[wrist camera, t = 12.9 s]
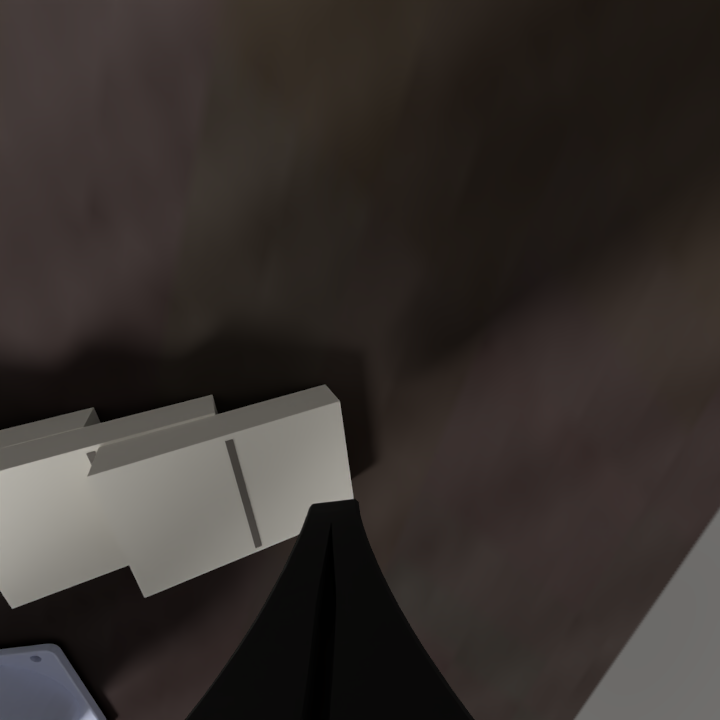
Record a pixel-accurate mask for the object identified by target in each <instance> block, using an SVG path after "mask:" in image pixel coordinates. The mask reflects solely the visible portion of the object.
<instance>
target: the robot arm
mask: <svg viewBox="0 0 720 720" xmlns="http://www.w3.org/2000/svg"><path fill="white" fill-rule="evenodd" d="M0 720H107V719H106V717H105V716H104V714H103V713H102V711H101V710H100V708H99V707H98V705H97V704H96V702H95V701H94V699H93V697H92V696H91V694H90V693H89V691H88V690H87V688H86V687H85V685H84V684H83V682H82V680H81V679H80V677H79V676H78V674H77V673H76V671H75V670H74V668H73V667H72V665H71V664H70V662H69V660H68V659H67V657H66V656H65V654H64V653H63V651H62V650H61V648H60V647H59V646H57V645H55V644H40V645H31V646H23V647H14V648H6V649H0ZM185 720H474V719H473V717H472V716H471V715H470V713H469V712H468V710H467V709H466V708H465V706H464V705H463V704H462V702H461V701H460V700H459V698H458V697H457V696H456V694H455V693H454V691H453V690H452V689H451V687H450V686H449V684H448V683H447V681H446V680H445V678H444V677H443V675H442V674H441V672H440V671H439V670H438V668H437V667H436V665H435V664H434V662H433V661H432V659H431V658H430V656H429V655H428V653H427V652H426V650H425V649H424V647H423V646H422V644H421V642H420V641H419V639H418V638H417V636H416V634H415V633H414V631H413V629H412V628H411V626H410V624H409V623H408V621H407V619H406V617H405V616H404V614H403V612H402V611H401V609H400V607H399V605H398V603H397V601H396V600H395V598H394V596H393V594H392V592H391V590H390V588H389V586H388V584H387V582H386V580H385V578H384V576H383V574H382V572H381V570H380V567H379V565H378V563H377V561H376V558H375V556H374V553H373V551H372V549H371V546H370V544H369V541H368V538H367V536H366V533H365V530H364V527H363V523H362V520H361V516H360V509H359V502H358V501H357V500H355V499H349V500H341V501H332V502H323V503H315V504H312V505H311V506H310V507H309V510H308V513H307V516H306V518H305V521H304V524H303V526H302V529H301V531H300V534H299V536H298V538H297V541H296V543H295V545H294V547H293V549H292V552H291V554H290V556H289V558H288V560H287V562H286V564H285V566H284V568H283V570H282V572H281V574H280V576H279V578H278V580H277V582H276V584H275V585H274V587H273V589H272V591H271V593H270V595H269V597H268V598H267V600H266V602H265V604H264V606H263V607H262V609H261V611H260V612H259V614H258V616H257V618H256V619H255V621H254V622H253V624H252V626H251V627H250V629H249V631H248V632H247V634H246V635H245V637H244V638H243V640H242V642H241V643H240V645H239V646H238V648H237V649H236V651H235V652H234V653H233V655H232V656H231V658H230V659H229V661H228V662H227V664H226V665H225V667H224V668H223V669H222V671H221V672H220V674H219V675H218V677H217V678H216V679H215V681H214V682H213V684H212V685H211V686H210V688H209V689H208V690H207V692H206V693H205V695H204V696H203V697H202V698H201V700H200V701H199V702H198V704H197V705H196V706H195V707H194V709H193V710H192V711H191V713H190V714H189V715H188V716H187V718H186V719H185Z"/></svg>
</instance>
